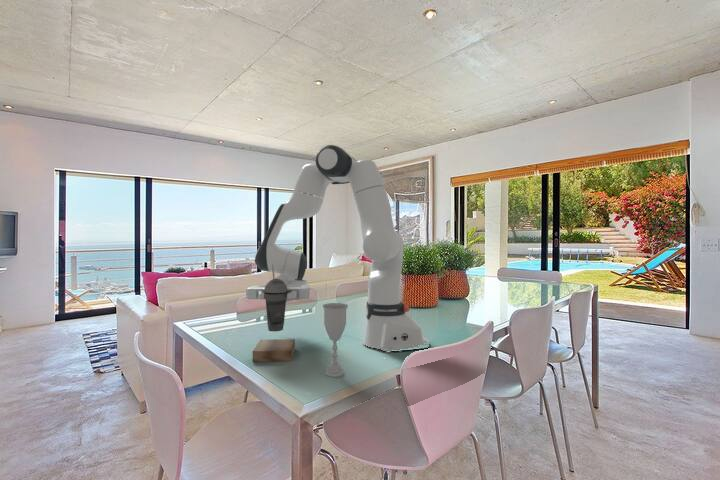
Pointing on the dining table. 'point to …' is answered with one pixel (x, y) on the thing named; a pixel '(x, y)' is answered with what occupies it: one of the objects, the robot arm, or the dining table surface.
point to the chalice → (334, 332)
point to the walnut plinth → (274, 350)
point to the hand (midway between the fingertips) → (275, 296)
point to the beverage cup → (275, 303)
